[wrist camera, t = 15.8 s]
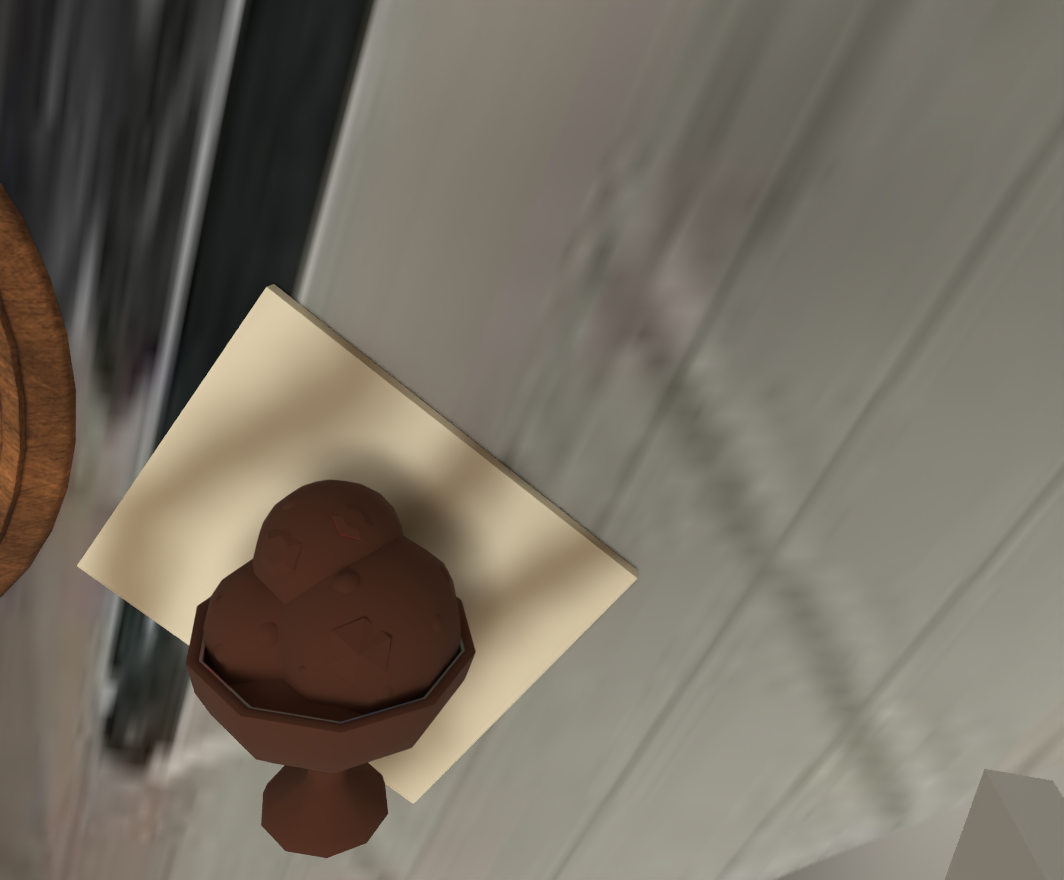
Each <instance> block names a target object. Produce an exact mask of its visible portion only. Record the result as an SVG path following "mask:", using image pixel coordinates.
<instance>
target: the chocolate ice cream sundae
mask: <svg viewBox="0 0 1064 880" xmlns="http://www.w3.org/2000/svg"><path fill="white" fill-rule="evenodd" d="M475 653H476V651H475V647H474V643H473V640H472V636H471V633H470V629H469V625H468V622H467V618H466V614H465V611H464V607H463V603H462V600H461V599H459V598H458V597H456V593H455V588H454V583H453V580H452V578H451V576H450V574H449V571H448V570H447V568H446V566H445V564H444V563H443V562H442V561H440V560H439V559H438V558H437V557H435V556H434V555H433V554H431V553H430V552H429V551H427V550H426V549H424V548H423V547H421V546H419V545H418V544H416V543H414V542H413V541H411V540H410V539H408V538H406V537H405V536H403V530H402V526H401V523H400V521H399V519H398V516H397V514H396V512H395V509H394V508H393V507H392V505H391V504H390V503H389V502H388V501H387V500H386V499H385V498H384V497H383V496H382V495H381V494H380V493H378V492H376V491H374V490H372V489H370V488H368V487H366V486H364V485H362V484H359V483H354V482H349V481H341V480H331V479H329V480H322V481H316V482H313V483H310V484H307V485H304V486H301V487H300V488H298V489H297V490H295V491H293V492H292V493H290V494H289V495H288V496H286V497H285V498H283V499H282V500H281V501H279V502H278V503H277V504H275V505H274V507H273V508H272V510H271V511H270V513H269V514H268V516H267V517H266V519H265V520H264V521H263V524H262V527H261V530H260V533H259V536H258V540H257V544H256V548H255V552H254V556H253V559H252V560H250V561H249V562H247V563H246V564H244V565H243V566H241V567H240V568H238V569H237V570H235V571H234V572H232V573H231V574H230V575H228V576H227V577H225V578H224V579H222V580H221V582H220V583H219V585H218V586H217V588H216V589H215V591H214V592H213V594H212V595H211V597H209V598H208V599H206V600H205V601H203V602H202V603H201V604H199V605H198V606H197V609H196V614H195V619H194V624H193V629H192V635H191V640H190V645H189V650H188V655H187V661H186V666H187V669H188V672H189V675H190V679H191V682H192V685H193V688H194V692H195V694H196V695H197V697H198V698H199V699H200V701H201V702H202V703H203V705H204V706H205V707H206V709H207V710H208V711H209V713H210V714H211V715H212V716H213V717H214V718H215V719H216V720H217V721H218V722H219V723H220V724H221V725H222V726H223V727H224V728H225V729H226V730H227V731H228V732H229V733H230V734H231V735H232V736H233V737H234V738H235V739H236V740H237V741H238V742H239V743H240V744H241V745H242V746H243V747H244V748H245V749H246V750H247V751H248V752H249V753H250V754H251V755H252V756H253V757H254V758H255V759H258V760H262V761H267V762H271V763H275V764H281V765H285V766H284V767H283V768H282V769H281V770H280V771H279V772H278V773H277V774H276V775H275V776H274V777H273V778H272V780H271V781H270V782H269V783H268V784H267V786H266V788H265V790H264V792H263V805H262V823H261V825H262V826H263V828H264V829H265V830H266V831H267V832H268V833H269V834H270V835H271V836H272V837H273V838H274V839H275V840H276V841H277V842H278V843H279V845H280V846H281V847H282V848H283V849H284V850H285V851H288V852H294V853H300V854H306V855H312V856H318V857H324V858H328V857H331V856H333V855H336V854H339V853H341V852H344V851H347V850H349V849H352V848H355V847H357V846H360V845H362V844H365V843H367V842H368V840H369V839H370V838H371V836H372V835H373V834H374V832H375V831H376V829H377V828H378V827H379V825H380V824H381V823H382V821H383V820H384V818H385V817H386V816H387V814H388V808H387V799H386V789H385V782H384V779H383V776H382V774H381V773H379V772H378V771H377V770H376V769H375V768H374V767H373V766H372V765H370V764H369V763H368V762H370V761H374V760H377V759H380V758H383V757H386V756H389V755H392V754H395V753H398V752H401V751H404V750H407V749H410V748H412V747H413V746H414V745H415V744H416V742H417V741H418V740H419V738H420V737H421V736H422V735H423V733H424V732H425V731H426V730H427V728H428V727H429V726H430V724H431V723H432V722H433V720H434V719H435V718H436V716H437V715H438V714H439V713H440V711H441V710H442V709H443V707H444V706H445V705H446V703H447V702H448V701H449V700H450V698H451V697H452V696H453V694H454V693H455V692H456V690H457V689H458V688H459V687H460V685H461V684H462V683H463V681H464V680H465V678H466V675H467V673H468V670H469V668H470V665H471V663H472V660H473V658H474V655H475Z"/></svg>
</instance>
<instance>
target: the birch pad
mask: <svg viewBox="0 0 1064 880" xmlns="http://www.w3.org/2000/svg"><path fill="white" fill-rule="evenodd" d="M329 479H331V480H341V481H349V482H354V483H359V484H362V485H364V486H366V487H368V488H370V489H372V490H374V491H376V492H378V493H380V494H381V495H382V496H383V497H384V498H385V499H386V500H387V501H388V502H389V503H390V504H391V505H392V507H393V508H394V509H395V512H396V514H397V516H398V519H399V521H400V523H401V526H402V530H403V536H405V537H406V538H408V539H410V540H411V541H413V542H414V543H416V544H418V545H419V546H421V547H423V548H424V549H426V550H427V551H429V552H430V553H431V554H433V555H434V556H435V557H437V558H438V559H439V560H440V561H442V562H443V563H444V564H445V566H446V568H447V570H448V571H449V574H450V576H451V578H452V580H453V583H454V588H455V593H456V597H458V598H459V599H461V600H462V603H463V607H464V611H465V614H466V618H467V622H468V625H469V629H470V633H471V636H472V640H473V643H474V647H475V651H476V653H475V655H474V658H473V660H472V663H471V665H470V668H469V670H468V673H467V675H466V678H465V680H464V681H463V683H462V684H461V685H460V687H459V688H458V689H457V690H456V692H455V693H454V694H453V696H452V697H451V698H450V700H449V701H448V702H447V703H446V705H445V706H444V707H443V709H442V710H441V711H440V713H439V714H438V715H437V716H436V718H435V719H434V720H433V722H432V723H431V724H430V726H429V727H428V728H427V730H426V731H425V732H424V733H423V735H422V736H421V737H420V738H419V740H418V741H417V742H416V744H415V745H414V746H413V747H412V748H410V749H407V750H404V751H401V752H398V753H395V754H392V755H389V756H386V757H383V758H380V759H377V760H374V761H370V762H368V763H369V764H370V765H372V766H373V767H374V768H375V769H376V770H377V771H378V772H379V773H381V774H382V776H383V779H384V782H385V784H386V785H387V786H389V787H390V788H392V789H393V790H395V791H396V792H397V793H399V794H400V795H402V796H403V797H404V798H406V799H407V800H409V801H410V802H412V803H413V804H414V803H415V802H416V801H417V800H418V799H419V798H420V797H421V796H422V795H423V794H424V793H425V792H426V791H427V790H428V789H429V788H430V787H431V786H432V785H433V784H434V783H435V782H436V781H437V780H438V779H439V778H440V777H441V776H442V775H443V774H444V773H445V772H446V771H447V770H448V769H449V768H450V767H451V766H452V765H453V764H454V763H455V762H456V761H457V760H458V759H459V758H460V757H461V756H462V755H463V754H464V753H465V752H466V751H467V750H468V748H469V747H470V746H471V745H472V744H473V743H474V742H475V741H476V740H477V739H478V738H479V737H480V736H481V735H482V734H483V733H484V732H485V731H486V730H487V729H488V728H489V727H490V726H491V725H492V724H493V723H494V722H495V721H496V720H497V719H498V718H499V717H500V716H501V715H502V714H503V713H504V712H505V711H506V710H507V709H508V708H509V707H510V706H511V705H512V704H513V703H514V702H515V701H516V700H517V699H518V698H519V697H520V696H521V695H522V694H523V693H524V692H525V691H526V690H527V689H528V688H529V687H530V686H531V685H532V684H533V683H534V682H535V681H536V680H537V679H538V678H539V677H540V676H541V675H542V674H543V673H544V672H545V671H546V670H547V669H548V668H549V667H550V666H551V665H552V664H553V663H554V662H555V661H556V660H557V659H558V658H559V657H560V656H561V655H562V654H563V653H564V652H565V651H566V650H567V649H568V648H569V647H570V646H571V645H572V644H573V643H574V642H575V641H576V640H577V639H578V638H579V637H580V636H581V635H582V634H583V633H584V632H585V631H586V630H587V629H588V628H589V627H590V626H591V625H592V624H593V623H594V622H595V621H596V620H597V619H598V618H599V617H600V616H601V615H602V614H603V613H604V612H605V611H606V610H607V609H608V608H609V607H610V606H611V605H612V604H613V603H614V602H615V601H616V600H617V599H618V598H619V597H620V596H621V595H622V594H623V593H624V592H625V591H626V590H627V589H628V588H629V587H630V586H631V584H632V583H633V582H634V581H635V580H636V579H637V578H638V577H637V569H635V568H634V567H633V566H632V565H630V564H629V563H628V562H626V561H625V560H624V559H623V558H621V557H620V556H619V555H618V554H616V553H615V552H614V551H612V550H611V549H610V548H609V547H607V546H606V545H605V544H604V543H602V542H601V541H600V540H598V539H597V538H596V537H595V536H593V535H592V534H591V533H590V532H588V531H587V530H586V529H585V528H583V527H582V526H581V525H579V524H578V523H577V522H576V521H574V520H573V519H572V518H571V517H569V516H568V515H567V514H565V513H564V512H563V511H562V510H560V509H559V508H558V507H557V506H555V505H554V504H553V503H552V502H550V501H549V500H548V499H546V498H545V497H544V496H543V495H541V494H540V493H539V492H538V491H536V490H535V489H534V488H532V487H531V486H530V485H529V484H527V483H526V482H525V481H524V480H522V479H521V478H520V477H518V476H517V475H516V474H515V473H513V472H512V471H511V470H510V469H508V468H507V467H506V466H505V465H503V464H502V463H501V462H499V461H498V460H497V459H496V458H494V457H493V456H492V455H491V454H489V453H488V452H487V451H485V450H484V449H483V448H482V447H480V446H479V445H478V444H477V443H475V442H474V441H473V440H472V439H470V438H469V437H468V436H466V435H465V434H464V433H463V432H461V431H460V430H459V429H458V428H456V427H455V426H454V425H452V424H451V423H450V422H449V421H447V420H446V419H445V418H444V417H442V416H441V415H440V414H439V413H437V412H436V411H435V410H433V409H432V408H431V407H430V406H428V405H427V404H426V403H425V402H423V401H422V400H421V399H419V398H418V397H417V396H416V395H414V394H413V393H412V392H411V391H409V390H408V389H407V388H405V387H404V386H403V385H402V384H400V383H399V382H398V381H397V380H395V379H394V378H393V377H392V376H390V375H389V374H388V373H386V372H385V371H384V370H383V369H381V368H380V367H379V366H378V365H376V364H375V363H374V362H372V361H371V360H370V359H369V358H367V357H366V356H365V355H364V354H362V353H361V352H360V351H359V350H357V349H356V348H355V347H353V346H352V345H351V344H350V343H348V342H347V341H346V340H345V339H343V338H342V337H341V336H339V335H338V334H337V333H336V332H334V331H333V330H332V329H331V328H329V327H328V326H327V325H325V324H324V323H323V322H322V321H320V320H319V319H318V318H317V317H315V316H314V315H313V314H312V313H310V312H309V311H308V310H306V309H305V308H304V307H303V306H301V305H300V304H299V303H298V302H296V301H295V300H294V299H292V298H291V297H290V296H289V295H287V294H286V293H285V292H284V291H282V290H281V289H280V288H279V287H277V286H276V285H275V284H273V285H270V286H268V287H266V288H265V290H264V291H263V293H262V294H261V296H260V297H259V299H258V300H257V302H256V303H255V305H254V306H253V308H252V309H251V311H250V312H249V313H248V315H247V316H246V318H245V319H244V321H243V322H242V324H241V325H240V327H239V328H238V330H237V331H236V333H235V334H234V336H233V337H232V339H231V340H230V341H229V343H228V344H227V346H226V347H225V349H224V350H223V352H222V353H221V355H220V356H219V358H218V359H217V361H216V362H215V364H214V365H213V366H212V368H211V369H210V371H209V372H208V374H207V375H206V377H205V378H204V380H203V381H202V383H201V384H200V386H199V387H198V389H197V390H196V392H195V393H194V394H193V396H192V397H191V399H190V400H189V402H188V403H187V405H186V406H185V408H184V409H183V411H182V412H181V414H180V415H179V417H178V418H177V419H176V421H175V422H174V424H173V425H172V427H171V428H170V430H169V431H168V433H167V434H166V436H165V437H164V439H163V440H162V442H161V443H160V445H159V446H158V447H157V449H156V450H155V452H154V453H153V455H152V456H151V458H150V459H149V461H148V462H147V464H146V465H145V467H144V468H143V470H142V471H141V472H140V474H139V475H138V477H137V478H136V480H135V481H134V483H133V484H132V486H131V487H130V489H129V490H128V492H127V493H126V495H125V496H124V498H123V499H122V500H121V502H120V503H119V505H118V506H117V508H116V509H115V511H114V512H113V514H112V515H111V517H110V518H109V520H108V521H107V523H106V524H105V525H104V527H103V528H102V530H101V531H100V533H99V534H98V536H97V537H96V539H95V540H94V542H93V543H92V545H91V546H90V548H89V549H88V551H87V552H86V553H85V555H84V556H83V558H82V559H81V561H80V562H79V564H78V565H77V567H79V568H80V569H82V570H83V571H85V572H86V573H87V574H89V575H90V576H92V577H93V578H94V579H96V580H97V581H99V582H100V583H101V584H103V585H104V586H106V587H107V588H109V589H110V590H111V591H113V592H114V593H116V594H117V595H118V596H120V597H121V598H123V599H124V600H126V601H127V602H128V603H130V604H131V605H133V606H134V607H135V608H137V609H138V610H140V611H141V612H143V613H144V614H145V615H147V616H148V617H150V618H151V619H152V620H154V621H155V622H157V623H158V624H160V625H161V626H162V627H164V628H165V629H167V630H168V631H169V632H171V633H172V634H174V635H175V636H177V637H178V638H179V639H181V640H182V641H184V642H185V643H186V644H188V645H190V640H191V635H192V629H193V624H194V619H195V614H196V609H197V606H198V605H199V604H201V603H202V602H203V601H205V600H206V599H208V598H209V597H211V595H212V594H213V592H214V591H215V589H216V588H217V586H218V585H219V583H220V582H221V580H222V579H224V578H225V577H227V576H228V575H230V574H231V573H232V572H234V571H235V570H237V569H238V568H240V567H241V566H243V565H244V564H246V563H247V562H249V561H250V560H252V559H253V556H254V552H255V548H256V544H257V540H258V536H259V533H260V530H261V527H262V524H263V521H264V520H265V519H266V517H267V516H268V514H269V513H270V511H271V510H272V508H273V507H274V505H275V504H277V503H278V502H279V501H281V500H282V499H283V498H285V497H286V496H288V495H289V494H290V493H292V492H293V491H295V490H297V489H298V488H300V487H301V486H304V485H307V484H310V483H313V482H316V481H322V480H329Z"/></svg>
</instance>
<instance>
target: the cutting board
mask: <svg viewBox="0 0 1064 880" xmlns="http://www.w3.org/2000/svg"><path fill="white" fill-rule="evenodd" d="M75 421H76V389H75V383H74V376H73V370H72V363H71V357H70V350H69V344H68V337H67V333H66V329H65V326H64V323H63V319H62V316H61V313H60V310H59V306H58V303H57V300H56V296H55V293H54V290H53V287H52V283H51V280H50V277H49V275H48V272H47V270H46V268H45V266H44V264H43V261H42V259H41V257H40V255H39V253H38V250H37V248H36V246H35V244H34V242H33V239H32V237H31V235H30V233H29V231H28V228H27V226H26V224H25V222H24V220H23V218H22V216H21V215H20V213H19V211H18V210H17V208H16V207H15V205H14V203H13V202H12V200H11V199H10V197H9V195H8V194H7V192H6V190H5V189H4V187H3V186H2V184H1V182H0V597H1V596H2V595H3V594H4V593H5V592H6V591H7V590H8V589H9V588H10V587H11V586H12V585H13V584H14V583H15V582H16V581H17V579H18V578H19V577H20V576H21V575H22V574H23V573H24V572H25V571H26V570H27V569H28V568H29V567H30V565H31V564H32V562H33V560H34V559H35V557H36V555H37V554H38V552H39V551H40V549H41V547H42V546H43V544H44V542H45V541H46V539H47V538H48V536H49V534H50V533H51V531H52V529H53V526H54V523H55V521H56V518H57V515H58V513H59V510H60V507H61V504H62V502H63V499H64V496H65V494H66V491H67V488H68V482H69V476H70V470H71V464H72V459H73V453H74V447H75Z"/></svg>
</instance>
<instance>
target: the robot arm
mask: <svg viewBox="0 0 1064 880" xmlns="http://www.w3.org/2000/svg"><path fill="white" fill-rule="evenodd" d="M945 880H1064V797H1063V796H1062V794H1061V793H1060V791H1059V790H1058V788H1057V787H1056V785H1055V784H1054V782H1053V781H1051V780H1045V779H1040V778H1034V777H1028V776H1023V775H1017V774H1011V773H1006V772H1000V771H994V770H988V769H985V770H984V772H983V775H982V778H981V781H980V783H979V786H978V789H977V792H976V795H975V797H974V800H973V803H972V806H971V808H970V811H969V814H968V817H967V819H966V822H965V825H964V828H963V831H962V833H961V836H960V839H959V842H958V844H957V847H956V850H955V853H954V855H953V859H952V861H951V864H950V866H949V869H948V872H947V875H946V878H945Z"/></svg>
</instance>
